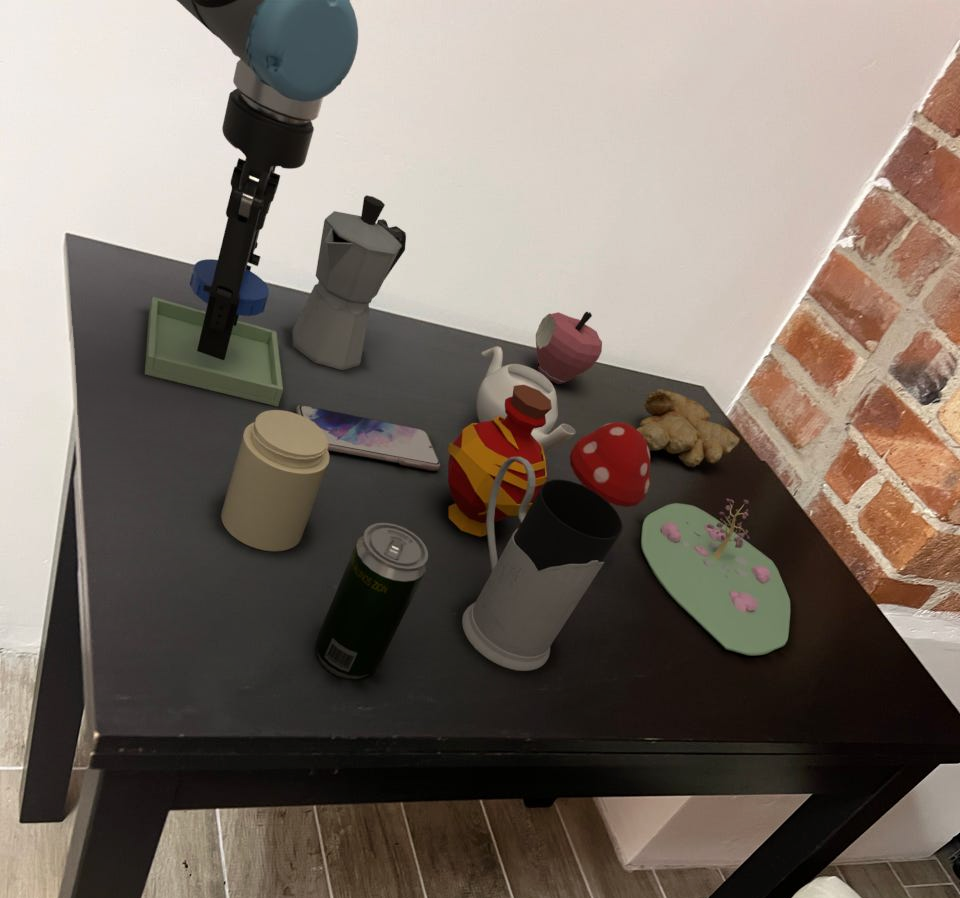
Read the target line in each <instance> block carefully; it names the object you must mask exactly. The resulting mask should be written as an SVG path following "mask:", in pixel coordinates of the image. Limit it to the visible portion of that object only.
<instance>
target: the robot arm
mask: <svg viewBox="0 0 960 898" xmlns="http://www.w3.org/2000/svg"><path fill="white" fill-rule="evenodd" d="M176 1H177V2H178V3H179V4H180V5H181V6H182V7H183V8H184V9H185V10H186V11H187V12H189V14H191V16H193V17H194V18H195V19H196V20H197V21H199V23H201V24H202V25H203V26H204V27H205V28H206V29H207V30H209V32H210V33H212V35H214V36H215V37H216V38H218V39H219V40H220V41H221V42H223V44H225V46H227V48H229V50H230V52H231V53H232V54H233V55H234V56H235V57H238V58H239V60H237V62H236V65H235V69H234V74H233V79H232V82H233V84H234V86H235V89H233V90H232V91H231V92H230V93H229V95H228V99H227V104H226V108H225V113H224V118H223V122H222V127H221V128H222V130H221V131H222V135H223V137H224V138H225V139H226V141H227V142H228V143H229V144H230V145H231V146H232V147H233V148H235V149H236V150H237V149H238V150H239V151H240V152H241V153H242V154H243V155H244V156H245V159H242V158H240V157H238V158H237V161H236V166H234V167H233V171H232V175H231V178H230V187H231V190H230V195H229V197H228V202H227V207H226V210H225V216H226V217H227V220H226V223H225V224H226V225H225V228H224V231H223V237H222V241H221V245H220V250H219V254H218V257H217V260H218V262H217V266H216V270H215V274H214V278H213V282H212V285H210V286H209V285H206V284H205V285H204V289H203V291H205V292H208V293H209V294H210V296H209V301H208V304H207V306H206V309H205V311H206V314H205V318H204V323H203V327H202V331H201V336H200V340H199V344H198V349H197V351H198V352H201V353H204V354H207V355H210V356H212V357H215V358H218V359H221V360H225V356H226V353H227V349H228V345H229V341H230V337H231V333H232V329H233V325H234V326H236V324H237V321H239V317H240V315H236V313H237V309H238V305H239V301H240V296H241V295H240V290H241V286H242V282H243V279H244V275H245V271H246V269H247V270H249V271H251V269H252V265H253V266H256V267H259V264H260V261H261V256H260V255H258V254H256V253H255V250H256V249H257V248H258V245H259V243H258V239H259V236H260V231H261V230H262V229H263V228H264V226H265V221H266V218H267V215H268V214H269V211H270V208H271V205H272V203H273V201H274V199H275V196H276V193H277V190H278V186H279V184H280V179H281V175H280V174H279V173H276V168H277V167H281V168H282V169H287V170H294V169H299V168H300V167H302V166H304V164H305V163H306V160H307V156H308V153H309V149H310V145H311V142H312V138H313V135H314V131H315V128H314V125H313V121H314V120H316V119H317V118H319V114H320V111H321V108H322V104H323V101H324V98H325V97H327V96H328V95H330V94H331V93H333V92H334V91H335V90H336V89H337V88H338V87H339V86H340V85H342V82H343V80H344V79H346V77H347V76H348V74H349V73H350V71H351V69H352V66H353V65H354V61H355V59H356V56H357V53H358V45H359V25H358V19H357V17H356V11H355V9H354V7H353V5H352V3H351V0H176ZM249 264H251V265H249Z"/></svg>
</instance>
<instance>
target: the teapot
mask: <svg viewBox="0 0 960 898" xmlns="http://www.w3.org/2000/svg"><path fill="white" fill-rule="evenodd" d="M503 352H504V351H503V349H502V347H501V346H498V345H497V346H493V347H491V348H488V349H486V350H483V351H482V352H481V353H480V354H481V355H482V356H484V357H485V358H491V357H492V358H491V359H492V360H491V362H490V364H489V366H488V369H487V371H486V374H485V376H484V378H483V380H482V382H481V383H480V385H479V387H478V390H477V395H476V401H475V403H476V404H475V409H476V416H477V419H478V423H480V422H486V421H491V420H493V418H495V417H498V416H501V417H503V418H506V416H507V414H506V413H505V399H507V398H509V397H512V396H513V388H514V386H517V385H526V386H529V387H532V388H534V389H537V390H539V391H540V392H541V393H543V394H544V395H545V396H546V397H547V398H548V399H550V400H551V406H552V409H551V410H550V411H549V412H548V413H547V414H545V418H546V424H545V425H544V426H543V427H540V428H534V429H533V431H532V433H531V435H532V436H533V437H534V438H535V439H536V440H537V441H538V442H539V443H540V444H541V445H542V447H543V452H544V455H545V456H546V455H547V454H549V453H552V452H553V451H555V450H556V449H558V448H559V447H561V446H562V445H564V444H565V443H566V442H567V441H569V440H570V439H571V438H573V437H574V436H575V434H576V430H575V428H574V427H572V426H571V425H570V424H567V423H561V424H560V425H559V426H558V427H556V428H555V429H554V426H555V425H556V423H557V420H558V417H559V410H558V409H559V406H558V396H557V392H556V389H555V386H554V385H553V382H552V381H549V380H548V379H547V378H546V377H545V376H544V375H542V374H541V373H539V370H536V369H534V368H532V367H530V366H528V365H524V364H519V363H509V364H506V365H503V358H504V353H503ZM552 429H554V430H552ZM541 452H542V451H541Z"/></svg>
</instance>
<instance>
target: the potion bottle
mask: <svg viewBox="0 0 960 898" xmlns="http://www.w3.org/2000/svg"><path fill="white" fill-rule="evenodd" d="M551 409H552V406H551V400H550V399H548V398H547V397H546V396H545V395H544V394H543V393H541V392H540V391H539V390H537V389H534V388H532V387H529V386H526V385H517V386H514V388H513V396H512V397H509V398H507V399H505V413H506V414H507V416H506V418H503V417H501V416H498V417H495V418H493V420H491V421H486V422H480V423H479V422H472V423H470V424H468V425H467V426H466V427H464V428H463V429H462V431H461V432H460V434H459V435H458V437H457V438H456V439H455V440H454V442H449V444H448V447H447V452H448V453H449V457H448V461H447V463H448V464H447V483H448V488H449V492H450V496H451V498H452V499H453V501H454V503H453V504H451V505H449V506H448V519H449V520H450V521H451V522H452V523H453V524H454V525H455V526H456V527H457V528H458V529H459V530H460V531H462V532H464V533H467V534H471V535H474V536H476V537H479V538H481V537H485V536H487V524H486V520H487V510H488V503H489V497H490V493H491V490H492V486H493V483H494V480H495V478H496V476H497V474H498V471H499V469H500V468H501V466H502V465H503V463H504V462H505V461H506V460H507V459H509V458H510V457H522V458H524V459H526V460H527V461H528V462H529V463H530V464H531V465H532V467H533V469H534V473H535V490H534V494H533V496H532V499H531V501H530V503H529V505H528V507H527V509H526V514H527V512H528V510H529V508H530V506H531V505H532V503H533V501H534V499H535V497H536V496H537V494H538V492H539V490H540V488H541V486H542V485H543V484H544V483H545V482H547V477H548V473H547V463H546V454H545V455H544V452H543V447H542V445H541V444H540V443H539V442H538V441H537V440H536V439H535V438H534V437H533V436H532V435H531V433H532V431H533V429H534V428H540V427H543V426H544V425H545V424H546V418H545V414H547V413H548V412H549V411H550V410H551ZM541 451H542V452H541ZM527 486H528V477H527V472H526V469H525V467H524V465H523V464H522V463H521V462H519V461H517V460H516V461H514V462H513V463H512V464H511V465H510V466H509V468H508V469H507V471H506V473H505V475H504V478H503V480H502V482H501V485H500V488H499V492H498V495H497V500H496V506H495V515H494V523H495V522H498V521H503V520H504V519H508V518H512V517H516V516H517V517H518V512H519V508H520V505H521V503H522V501H523V499H524V497H525V494H526V490H527Z"/></svg>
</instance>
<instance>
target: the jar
mask: <svg viewBox="0 0 960 898" xmlns="http://www.w3.org/2000/svg"><path fill="white" fill-rule="evenodd" d="M328 445H329V443H328V439H327V437H326V435H325V434H324V432H323V431H322V430H321V428H320V427H318V426H317V425H316V424H315V423H313V422H312V421H310V420H309V419H307V418H305V417H303V416H301V415H298V414H297V413H296V412H292V411H288V410H282V409H269V410H265V411H263V412H260V413H259V414H258V415H257V416H256V418H255V419H254V421H253V422H251V423H249V424H248V425H247V426H246V427H245V428H244V430H243V434H242V437H241V441H240V444H239V448H238V451H237V455H236V459H235V463H234V465H233V469H232V471H231V475H230V476H231V477H230V480H229V484H228V487H227V490H226V495H225V497H224V501H223V504H222V509H221V511H220V518H221V522H222V524H223V527H224V528H225V530H226V531H227V532H228V533H229V534H230V535H231V536H232V537H233V538H235V539H236V540H237V541H239V542H241V543H242V544H243V545H246V546H248V547H251V548H254V549H257V550H260V551H264V552H283V551H288V550H291V549H293V548H294V547H296V546H297V545H298V544H300V542H301V541H302V539H303V536H304V533H305V530H306V528H307V525H308V522H309V519H310V516H311V514H312V512H313V511H312V510H313V508H314V506H315V502H316V500H317V497H318V494H319V491H320V489H321V486H322V483H323V480H324V477H325V474H326V472H327V469H328V466H329V463H330V460H331V459H330V453H329V452H330V451H329V450H327V448H328Z"/></svg>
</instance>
